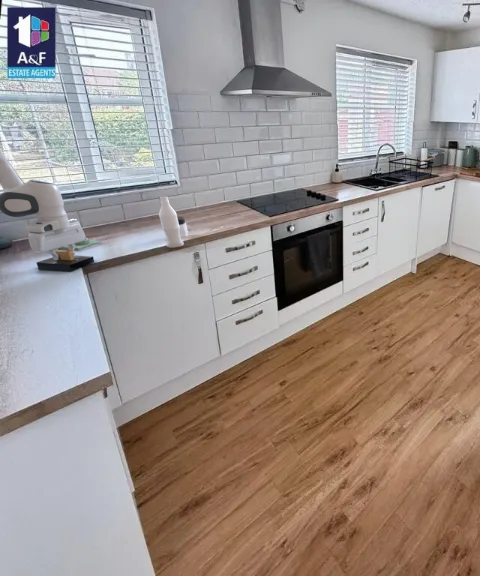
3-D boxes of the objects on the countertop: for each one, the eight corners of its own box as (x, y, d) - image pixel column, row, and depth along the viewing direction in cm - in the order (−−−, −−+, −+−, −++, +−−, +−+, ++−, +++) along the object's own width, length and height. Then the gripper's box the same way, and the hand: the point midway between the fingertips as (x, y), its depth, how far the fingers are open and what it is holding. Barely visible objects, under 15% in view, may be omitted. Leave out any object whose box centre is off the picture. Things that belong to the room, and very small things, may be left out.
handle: (55, 259, 147) (53, 250, 146) (59, 258, 149) (57, 249, 148) (70, 260, 147) (68, 251, 145) (74, 259, 148) (72, 250, 147)
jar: (174, 239, 191) (169, 216, 186) (191, 238, 193) (186, 215, 187) (168, 244, 183) (162, 221, 178) (186, 243, 185) (180, 220, 180)
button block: (59, 251, 167) (56, 242, 165) (83, 243, 179) (81, 235, 177) (79, 252, 166) (77, 244, 164) (102, 245, 178) (100, 236, 176)
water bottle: (171, 253, 170) (157, 199, 159) (165, 250, 174) (152, 197, 164) (187, 250, 175) (175, 197, 164) (181, 246, 179) (169, 194, 168)
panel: (38, 269, 144) (36, 262, 143) (63, 261, 155) (61, 254, 153) (71, 272, 143) (69, 264, 142) (94, 263, 154) (92, 256, 152)
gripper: (70, 217, 152) (79, 249, 157) (20, 228, 133) (32, 264, 138) (84, 218, 152) (93, 250, 157) (36, 229, 133) (48, 265, 138)
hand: (64, 257), depth 147 cm, fingers open, 5 cm apart
